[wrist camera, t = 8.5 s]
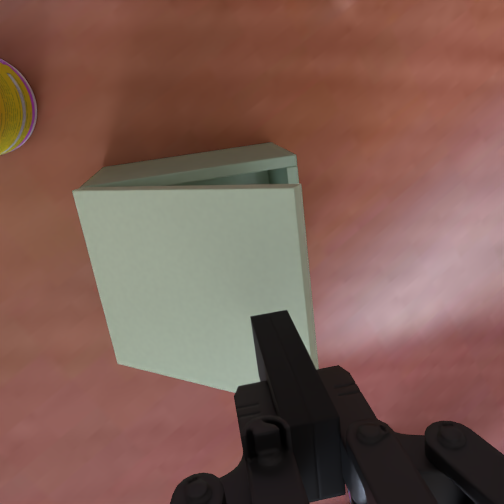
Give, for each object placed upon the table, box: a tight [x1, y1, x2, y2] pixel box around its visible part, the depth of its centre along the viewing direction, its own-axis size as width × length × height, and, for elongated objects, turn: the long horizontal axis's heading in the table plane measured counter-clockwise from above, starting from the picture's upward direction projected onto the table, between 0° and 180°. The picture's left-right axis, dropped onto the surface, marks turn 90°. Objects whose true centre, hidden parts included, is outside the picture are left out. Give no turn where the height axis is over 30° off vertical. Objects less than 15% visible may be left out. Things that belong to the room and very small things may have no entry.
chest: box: [80, 142, 299, 188], centre depth 33 cm, size 13×11×8 cm
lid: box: [72, 184, 319, 393], centre depth 25 cm, size 14×11×1 cm
